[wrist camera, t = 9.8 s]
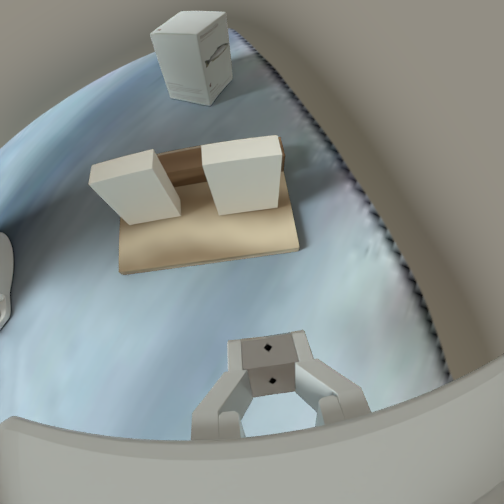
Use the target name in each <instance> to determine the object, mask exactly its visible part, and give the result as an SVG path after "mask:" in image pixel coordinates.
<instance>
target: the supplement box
mask: <svg viewBox="0 0 504 504" xmlns="http://www.w3.org/2000/svg"><path fill="white" fill-rule="evenodd" d="M150 36H151V40H152V43H153V46H154V49H155V52H156V55H157V58H158V61H159V65H160V68H161V71H162V74H163V77H164V80H165V83H166V86H167V89H168V92H169V95H170V98H172V99H177V100H183V101H187V102H192V103H197V104H202V105H206V106H211V105H212V103H213V102H214V100H215V99H216V98H217V96H218V95H219V94H220V93H221V91H222V90H223V89H224V88H225V87H226V86H227V85H228V83H229V82H230V81H231V80H232V79H233V74H232V64H231V55H230V45H229V36H228V28H227V19H226V12H214V11H181V12H180V13H178V14H177V15H175V16H174V17H173V18H171V19H169V20H168V21H166V22H165V23H164V24H163V25H161V26H160V27H158V28H157V29H156V30H154V31H153V32H152V33H150Z"/></svg>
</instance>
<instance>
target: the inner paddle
mask: <svg viewBox="0 0 504 504" xmlns="http://www.w3.org/2000/svg"><path fill="white" fill-rule="evenodd" d="M88 185H89V186H90V187H91V188H92V189H93V190H94V191H95V192H96V193H97V194H98V195H99V196H100V197H101V198H102V199H103V200H104V201H105V202H106V203H107V204H108V205H109V206H110V207H111V208H112V209H113V210H114V211H115V212H116V213H117V214H118V215H119V216H120V217H121V218H122V219H124V220H125V221H126V222H127V223H128V224H129V225H133V224H139V223H144V222H150V221H155V220H161V219H167V218H173V217H179V216H181V201H180V198H179V196H178V194H177V192H176V190H175V189H174V187H173V185H172V183H171V181H170V179H169V177H168V176H167V174H166V172H165V170H164V168H163V166H162V164H161V162H160V161H159V159H158V157H157V155H156V153H155V151H154V149H151V150H147V151H143V152H139V153H135V154H131V155H127V156H123V157H119V158H116V159H112V160H108V161H105V162H101V163H98V164H95V165H92V167H91V172H90V178H89V184H88Z"/></svg>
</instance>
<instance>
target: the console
mask: <svg viewBox="0 0 504 504" xmlns="http://www.w3.org/2000/svg"><path fill="white" fill-rule="evenodd" d="M263 137H264V136H263ZM254 138H255V137H254ZM246 139H247V138H246ZM278 140H279V144H280V148H281V152H282V163H281V175H280V186H279V197H278V208H271V209H263V210H256V211H248V212H241V213H234V214H227V215H220V216H219V214H218V211H217V208H216V205H215V202H214V199H213V196H212V193H211V190H210V187H209V184H208V181H207V178H206V175H205V172H204V169H203V166H202V151H201V145H200V146H194V147H189V148H183V149H178V150H173V151H168V152H164V153H159V154H156V155H157V157H158V159H159V161H160V162H161V164H162V166H163V168H164V170H165V172H166V174H167V176H168V177H169V179H170V181H171V183H172V185H173V187H174V189H175V190H176V192H177V194H178V196H179V198H180V201H181V216H179V217H173V218H167V219H161V220H155V221H150V222H144V223H139V224H133V225H129V224H128V223H127V222H126V221H125V220H124V219H122V218H121V217H120V233H119V273H121V274H123V275H127V274H135V273H142V272H150V271H157V270H165V269H172V268H180V267H187V266H195V265H202V264H209V263H217V262H224V261H231V260H239V259H246V258H253V257H260V256H267V255H275V254H282V253H289V252H296V251H298V250H299V243H298V237H297V232H296V227H295V222H294V218H293V213H292V208H291V203H290V199H289V194H288V189H287V185H286V180H285V176H284V162H285V153H284V149H283V145H282V141H281V137H278ZM231 141H232V140H231ZM224 142H225V141H224Z"/></svg>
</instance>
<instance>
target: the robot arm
mask: <svg viewBox="0 0 504 504" xmlns="http://www.w3.org/2000/svg"><path fill="white" fill-rule="evenodd" d="M12 276H13V250H12V246H11V243H10V240H9V238H8V237H7V236H6V235H5V234H4V233H2V232H0V329H1V328H2V327H3V325H4V324H5V323H6V321H7V320H8V319H9V317H10V313H11V304H10V288H11V283H12ZM227 349H228V372H224V373H223V375H222V376H221V377H220V378H219V380H218V381H217V382H216V384H215V385H214V386H213V387H212V389H211V390H210V391H209V393H208V394H207V395H206V396H205V398H204V399H203V400H202V401H201V403H200V404H199V405H198V406H197V408H196V409H195V410H194V411H193V413H192V429H191V440H190V441H177V440H148V439H133V438H122V437H113V436H105V435H98V434H91V433H85V432H79V431H74V430H69V429H64V428H59V427H55V426H50V425H46V424H42V423H38V422H35V421H31V420H28V419H24V418H21V417H17V416H12V417H9V418H8V419H6V420H5V421H3V422H2V423H1V424H0V504H504V354H502V355H501V356H499V357H497V358H496V359H494V360H492V361H491V362H489V363H487V364H485V365H483V366H482V367H480V368H478V369H476V370H474V371H472V372H470V373H468V374H466V375H464V376H462V377H460V378H458V379H456V380H454V381H452V382H450V383H448V384H446V385H443V386H441V387H439V388H437V389H434V390H432V391H430V392H427V393H425V394H422V395H420V396H417V397H415V398H412V399H409V400H407V401H404V402H401V403H399V404H396V405H393V406H390V407H387V408H384V409H381V410H378V411H375V412H371V411H370V408H369V406H368V403H367V401H366V398H365V396H364V394H363V391H362V389H361V387H359V386H358V385H356V384H355V383H353V382H352V381H350V380H349V379H347V378H346V377H344V376H343V375H341V374H340V373H338V372H337V371H335V370H334V369H332V368H331V367H329V366H328V365H326V364H325V363H323V362H322V361H320V360H319V359H314V358H313V355H312V352H311V349H310V346H309V343H308V340H307V337H306V334H305V331H304V330H300V331H294V332H291V333H290V332H289V333H283V334H277V335H270V336H264V337H256V338H246V339H239V340H228V343H227ZM293 391H295V392H296V393H297V394H298V395H299V396H300V397H301V398H302V399H303V400H304V401H305V402H306V403H307V404H309V405H310V406H311V407H312V408H313V409H314V410H315V411H316V412H317V417H316V424H315V427H312V428H307V429H302V430H296V431H291V432H284V433H278V434H271V435H263V436H255V437H246V436H245V433H244V430H243V426H242V423H241V419H242V418H243V416H244V414H245V412H246V410H247V409H248V407H249V405H250V403H251V401H252V399H253V397H259V396H266V395H272V394H279V393H287V392H293Z"/></svg>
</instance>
